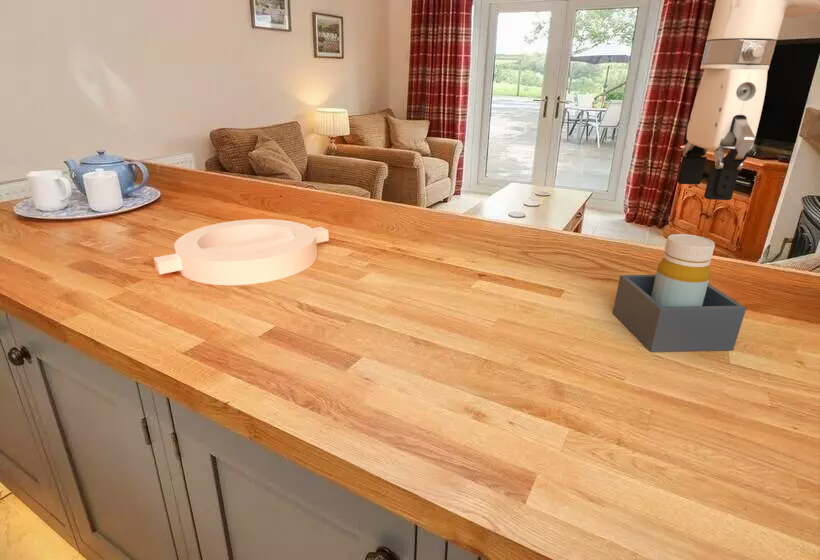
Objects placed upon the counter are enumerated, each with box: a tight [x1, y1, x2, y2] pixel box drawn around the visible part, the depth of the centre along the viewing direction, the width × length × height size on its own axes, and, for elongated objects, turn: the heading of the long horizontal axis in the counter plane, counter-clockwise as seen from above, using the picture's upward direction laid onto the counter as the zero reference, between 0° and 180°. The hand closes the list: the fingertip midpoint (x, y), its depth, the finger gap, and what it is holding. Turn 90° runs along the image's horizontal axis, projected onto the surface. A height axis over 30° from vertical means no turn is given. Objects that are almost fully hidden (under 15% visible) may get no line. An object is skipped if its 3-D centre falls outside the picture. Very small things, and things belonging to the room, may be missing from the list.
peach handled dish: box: [153, 218, 330, 286], centre depth 103 cm, size 28×28×5 cm
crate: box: [612, 274, 747, 353], centre depth 76 cm, size 13×13×7 cm
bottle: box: [651, 233, 716, 307], centre depth 75 cm, size 7×7×15 cm
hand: (701, 191), depth 69 cm, fingers open, 9 cm apart
